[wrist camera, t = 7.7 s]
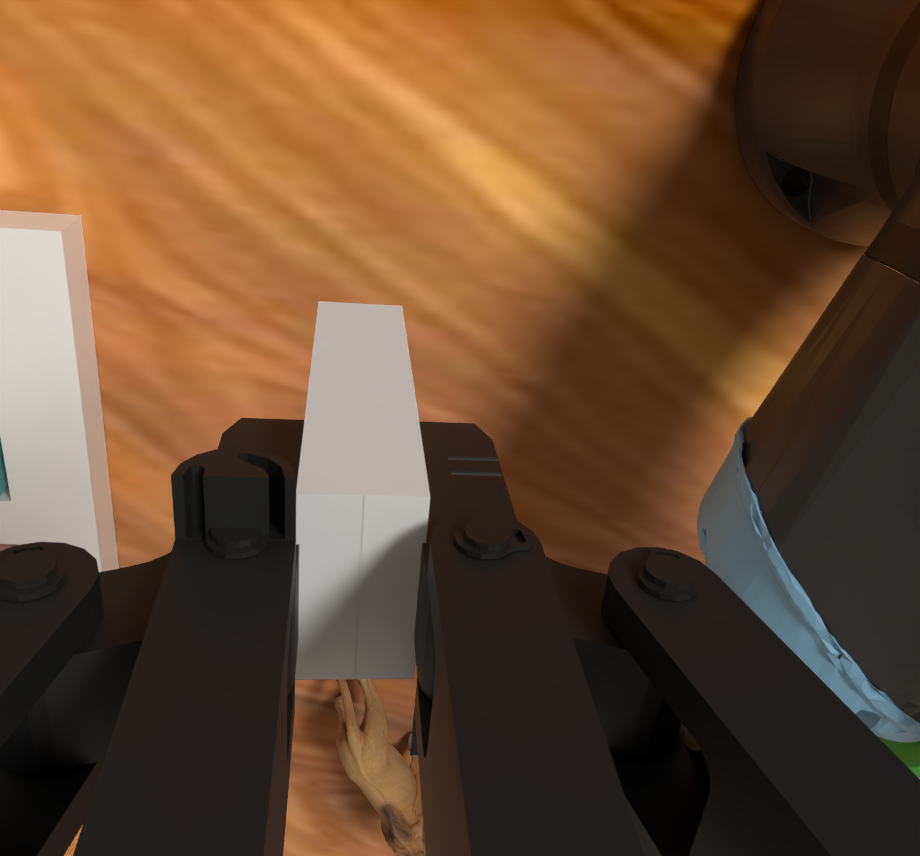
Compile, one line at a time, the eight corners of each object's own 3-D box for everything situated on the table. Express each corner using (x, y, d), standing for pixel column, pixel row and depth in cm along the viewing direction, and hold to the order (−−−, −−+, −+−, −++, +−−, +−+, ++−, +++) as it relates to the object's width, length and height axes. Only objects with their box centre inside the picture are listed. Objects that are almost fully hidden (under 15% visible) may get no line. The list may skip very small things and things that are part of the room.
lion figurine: (477, 756, 58) (497, 877, 50) (414, 791, 59) (423, 915, 51) (348, 627, 52) (347, 741, 44) (280, 668, 53) (266, 789, 45)
